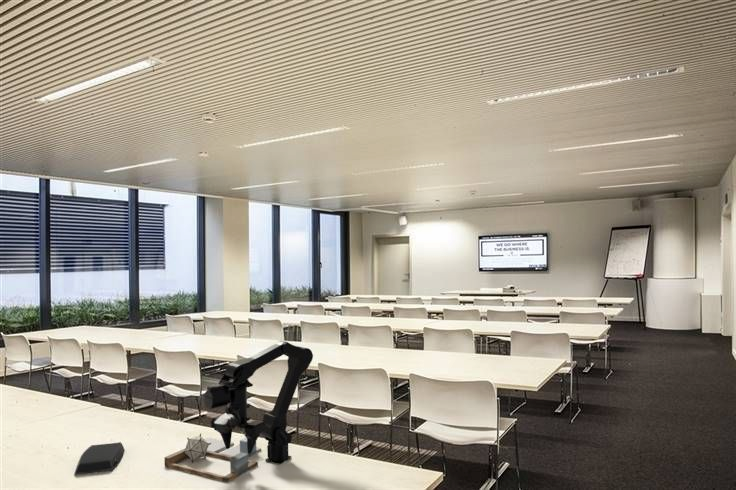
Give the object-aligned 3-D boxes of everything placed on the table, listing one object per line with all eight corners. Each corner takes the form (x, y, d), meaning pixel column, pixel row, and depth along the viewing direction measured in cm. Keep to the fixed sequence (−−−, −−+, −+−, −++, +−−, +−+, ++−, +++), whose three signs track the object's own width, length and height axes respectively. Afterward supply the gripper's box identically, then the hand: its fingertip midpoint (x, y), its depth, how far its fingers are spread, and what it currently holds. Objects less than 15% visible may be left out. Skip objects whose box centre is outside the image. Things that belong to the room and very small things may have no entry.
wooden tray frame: (257, 465, 177) (257, 448, 177) (227, 482, 164) (226, 464, 164) (197, 451, 190) (196, 436, 190) (164, 466, 178) (164, 449, 178)
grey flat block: (261, 450, 190) (260, 435, 190) (241, 460, 181) (241, 444, 181) (208, 439, 203) (207, 424, 203) (187, 448, 194) (187, 433, 194)
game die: (202, 471, 183) (211, 451, 179) (177, 465, 180) (185, 446, 176) (206, 449, 190) (215, 430, 186) (182, 444, 188) (191, 425, 184)
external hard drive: (71, 477, 172) (71, 464, 172) (87, 455, 191) (87, 443, 191) (115, 472, 175) (114, 459, 175) (126, 451, 194) (126, 439, 194)
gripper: (197, 405, 169) (198, 454, 169) (242, 413, 160) (243, 465, 160) (223, 396, 179) (223, 443, 178) (266, 403, 170) (267, 452, 169)
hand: (238, 451), depth 171 cm, fingers open, 9 cm apart
